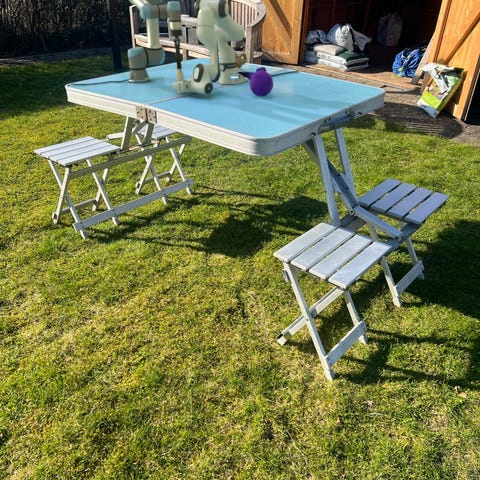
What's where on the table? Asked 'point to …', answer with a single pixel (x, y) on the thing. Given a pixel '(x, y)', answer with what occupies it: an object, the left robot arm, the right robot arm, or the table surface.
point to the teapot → (238, 59)
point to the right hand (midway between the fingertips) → (179, 82)
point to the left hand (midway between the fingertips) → (179, 68)
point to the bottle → (179, 78)
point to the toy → (259, 81)
